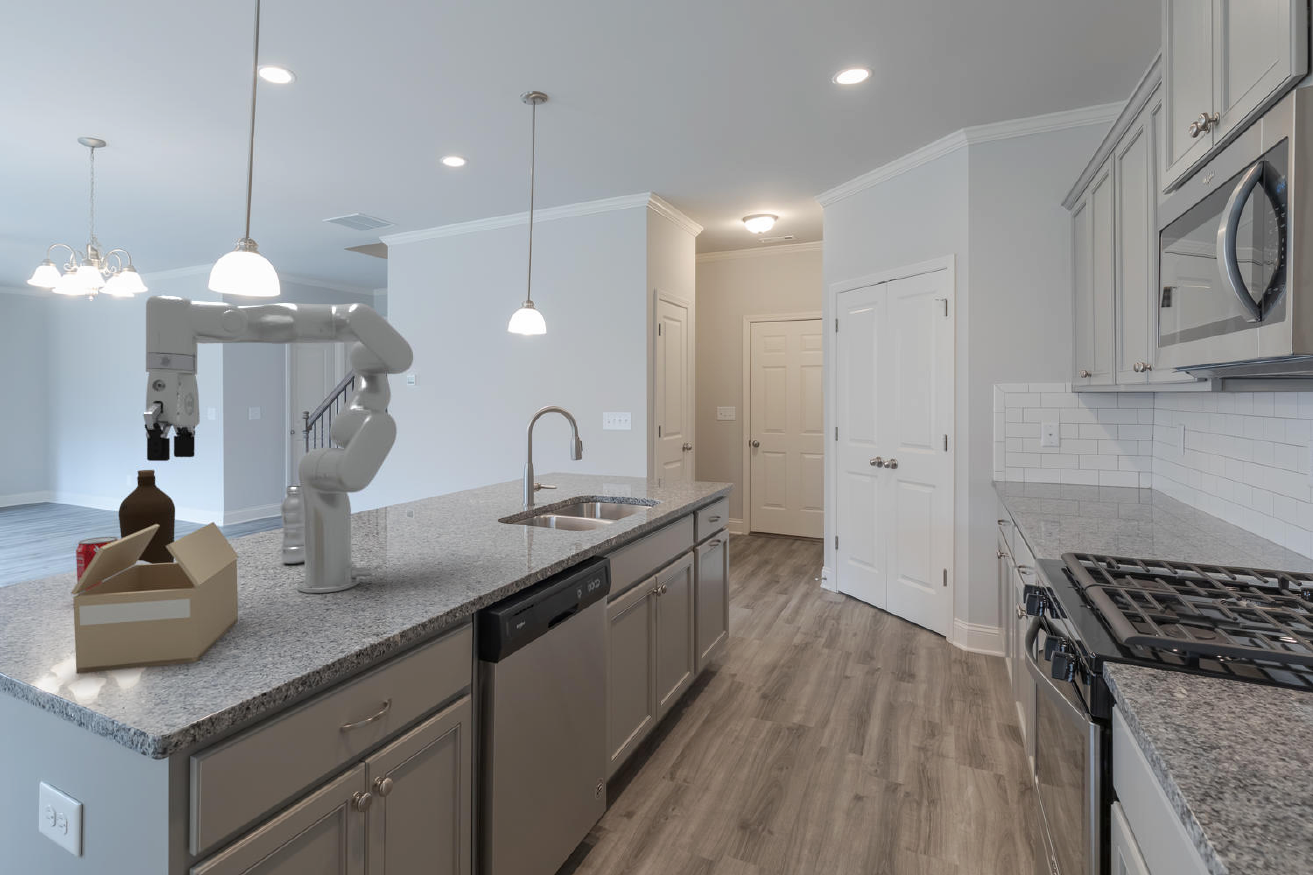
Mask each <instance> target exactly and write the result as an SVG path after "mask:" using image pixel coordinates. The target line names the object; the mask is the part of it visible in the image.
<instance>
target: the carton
mask: <svg viewBox="0 0 1313 875" xmlns="http://www.w3.org/2000/svg"><path fill="white" fill-rule="evenodd" d="M237 559H238V558H237ZM237 559H236V560H234V561H233V562H231V563H230V564H229V565H227V566H226V567H224V568H223V569H222V570H220V571H219V572H217V573H216V574H215V575H213V576H212V577H210V578H209V579H208V580H206V581H205V582H203V583H202V584H201V585H199V586H197V587H195V585H194V584H193V583H192V581H191V580H190V578H189V577H188V576H187V574H186V573H185V572H184V570H183V569H182V568H181V566H180V565H179V564H178V562H177V561H176V562H174V563H157V564H138V565H135V566H133V567H131V568H129V569H127V570H125V571H123V572H121V573H119V574H117V575H115V576H113V577H111V578H109V579H107V580H105V581H103V582H101V583H100V584H98V585H96V586H94V587H92V588H90V589H88V590H86V591H84V592H82V593H80V594H76V595H74V596H73V600H72V601H73V619H74V620H73V621H74V647H75V668H76V671H75V672H76V673H75V674H85V673H93V672H104V671H105V672H106V671H117V670H127V669H128V670H129V669H138V668H147V667H149V668H150V667H160V666H171V665H179V664H180V665H181V664H192V663H198V662H199V661H200V660H201V659H202V658H203V657H204V656H205V655H206V654H207V653H208V652H209V651H210V650H211V649H212V648H213V647H214V646H215V645H216V644H217V643H218V642H219V641H220V640H221V639H222V638H224V636H225V635H226V634H228V632H229V631H230V630H231V629H232V628H233V627H234V626H235V625H236V624H237V623H238V622H239V608H238V607H239V603H238V602H239V601H238V600H239V599H238V563H237V561H238V560H237Z"/></svg>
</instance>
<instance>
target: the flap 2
mask: <svg viewBox="0 0 1313 875" xmlns="http://www.w3.org/2000/svg"><path fill="white" fill-rule="evenodd" d="M166 548H167V549H168V550H169V552H170V553H171V554H172V556H173V557H174V561H176V562H178V564H179V565H180V566H181V568H182V569H183V570H184V572H185V573H186V574H187V576H188V577H189V578H190V580H191V581H192V583H193V584H194V585H195V587H197V586H199V585H201V584H202V583H203V582H205V581H206V580H208V579H209V578H210V577H212V576H213V575H215V574H216V573H217V572H219V571H220V570H222V569H223V568H224V567H226V566H227V565H229V564H230V563H231V562H233V561H234V560H236V559H238V558H239V555H238V554H237V552H236V551H235V548H233V547H232V545H231V544H230V543H229V541H228V540H227V538H226V537H225V535H224V534H223V533H222V531H221V530H220V529H219V527H218V526H217V525H216V523H215V522H214V521H213V522H211V523H208V524H206V525H204V526H203V527H201V528H198V529H197V530H194V531H193V532H191V533H189V534H187V535H185V536H182V537H181V538H179V539H176V540H174V542H172V543H170V544H169V545H167V546H166Z"/></svg>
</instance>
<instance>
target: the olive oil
mask: <svg viewBox="0 0 1313 875" xmlns="http://www.w3.org/2000/svg"><path fill="white" fill-rule="evenodd" d="M137 475H138V476H137V477H136V481H137V486H136V487H135V489H134V490H133V491H131V492H130V493H129V494H128V495H127V496H126V497H125V498H124V499H123V501H122V502H121V503H120V506H119V508H118V520H119V530H120V539H122V538H124V537H126V536H129V535H131V534H134V533H136V532H139V531H141V530H143V529H146V528H148V527H151V526H153V525H155V524H158V525H160V526H159V528H158V529H157V531H156V533H155V534H154V536H153V537H152V539H151V540H150V542H149V543H148V545H147V547H146V548H145V550H144V551H143V553H142V554H141V556H140V557H139V559H138V560H141V561H146V562H149V563H152V564H157V563H175V558H174V557H173V556H172V554H171V553H170V552H169V550H168V549H167V548H166V546H167V545H169V544H170V543H172V542H174V541H175V529H176V528H175V527H176V526H175V524H176V523H175V522H176V521H175V520H176V507H175V504H174V501H173V500H172V498H171V497H170V496H169V495H168V494H167V493H165V491H163V490H161V489H160V488H159V487H158V486H157V484H156V475H155V470H154V469H142V470H137Z"/></svg>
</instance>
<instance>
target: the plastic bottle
mask: <svg viewBox="0 0 1313 875" xmlns="http://www.w3.org/2000/svg"><path fill="white" fill-rule="evenodd" d="M285 489H286V490H285V494H286V497H285V498H284V500H283V501H282V502H281V505H280V514H281V519H282V520H281V521H282V528H283V529H282V531H283V533H282V534H283V535H282V546H281V548H280V549H281V550H280V558H281V561H282V562H283V563H285V564H288V565H289V564H290V565H291V564H293V565H297V564H301V563H305V550H304V504H303V494H302V489H301V485H288V486H286V487H285Z"/></svg>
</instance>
